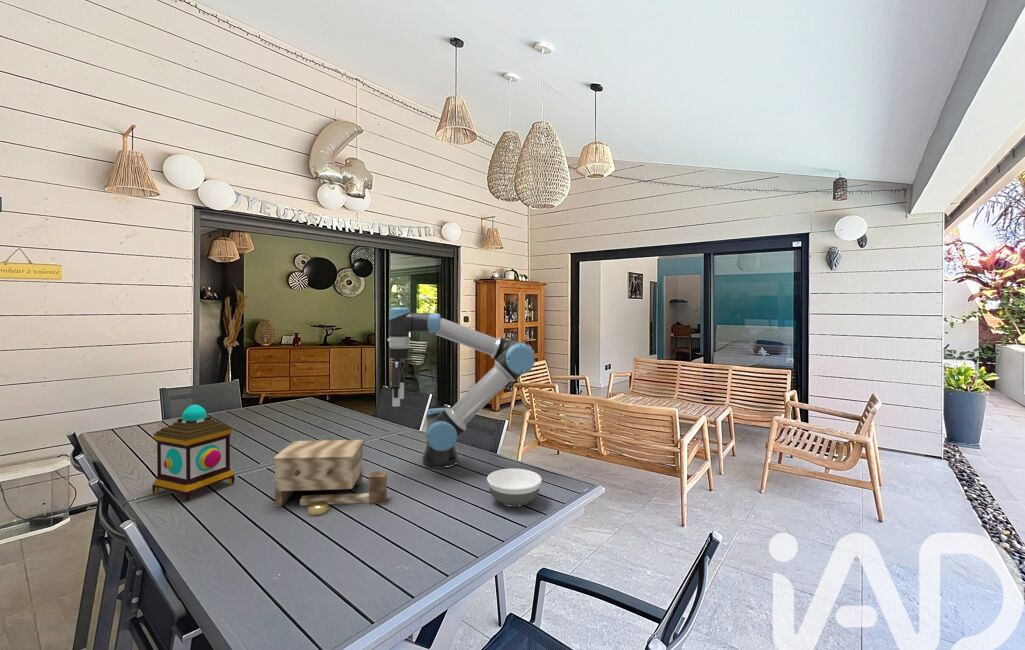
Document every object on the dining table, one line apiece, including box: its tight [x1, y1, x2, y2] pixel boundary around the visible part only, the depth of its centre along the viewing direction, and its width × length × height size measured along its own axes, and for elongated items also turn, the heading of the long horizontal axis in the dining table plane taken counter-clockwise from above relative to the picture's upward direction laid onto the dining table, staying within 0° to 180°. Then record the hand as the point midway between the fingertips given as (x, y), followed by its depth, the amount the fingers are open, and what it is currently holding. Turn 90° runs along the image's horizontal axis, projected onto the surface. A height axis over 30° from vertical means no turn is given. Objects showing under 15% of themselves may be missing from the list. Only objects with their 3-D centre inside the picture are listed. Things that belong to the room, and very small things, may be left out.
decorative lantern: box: [151, 404, 235, 502], centre depth 158 cm, size 20×20×30 cm
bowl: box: [486, 468, 543, 506], centre depth 153 cm, size 19×19×8 cm
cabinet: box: [272, 439, 366, 507], centre depth 156 cm, size 25×20×16 cm
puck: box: [307, 501, 329, 517], centre depth 143 cm, size 6×6×2 cm
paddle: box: [299, 470, 388, 506], centre depth 150 cm, size 27×5×9 cm, turn 98°
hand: (398, 402), depth 173 cm, fingers open, 13 cm apart
